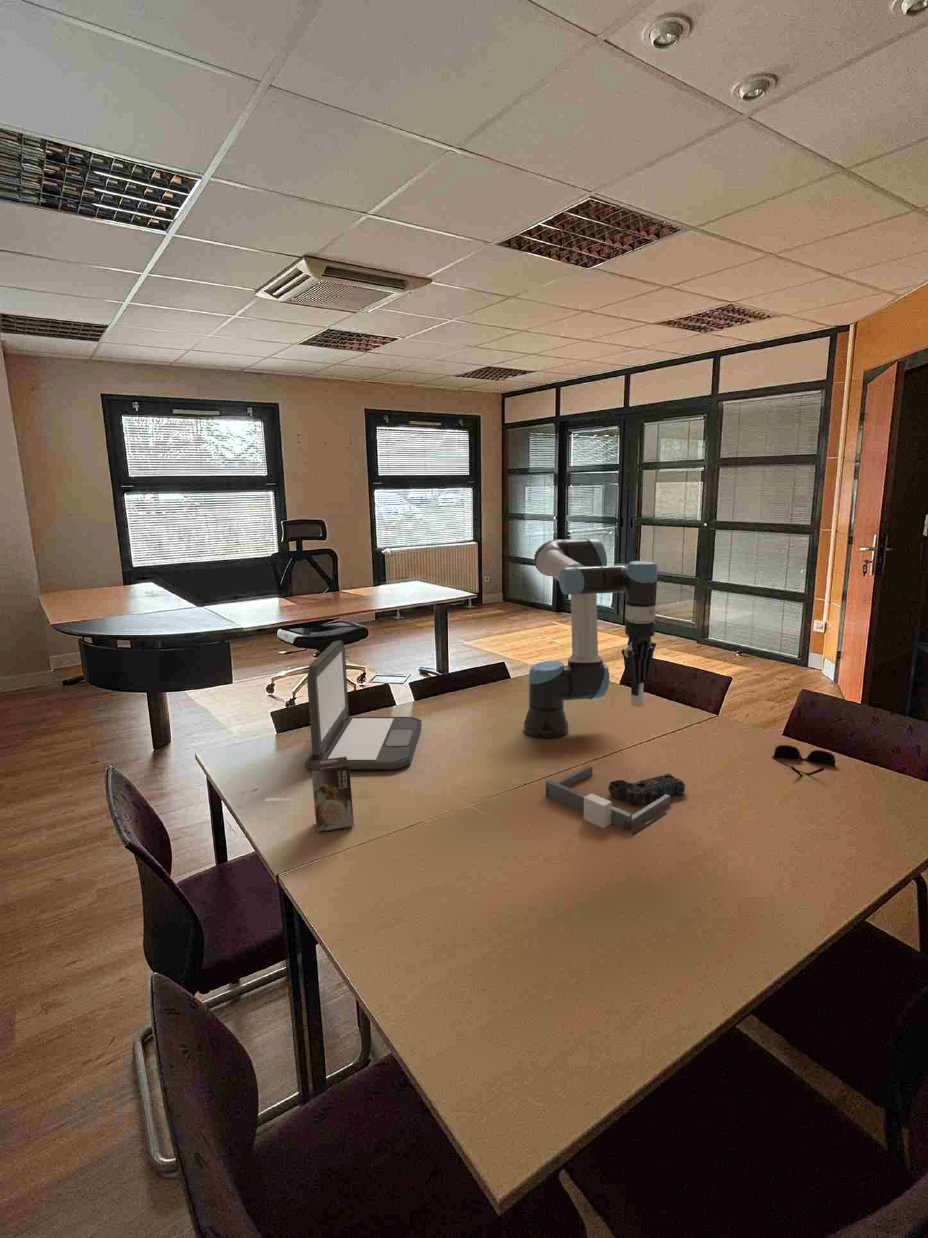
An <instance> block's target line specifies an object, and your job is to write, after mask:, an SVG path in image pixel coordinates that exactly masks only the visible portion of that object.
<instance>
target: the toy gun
mask: <svg viewBox="0 0 928 1238" xmlns="http://www.w3.org/2000/svg"><path fill="white" fill-rule="evenodd" d="M607 789H608V791H609V794H610V795H611V796H613V797H615V798H616V799H618V800H620V801H621V802H622V801H623V802H626V804H627V805H628V806H633V807H641V806H644V805H645V804H646V805H647V804H649V803H650V804H651V803H653V802H654V801H656V800H657V799H659V798H661V797H662V796H664V795H665V794H667V795H670V798H671V797H675V796H679V795H682V794H685V789H686V783H685V782H684V781H683V780H682V779H680V778H676V777H675V776H674V775H673V774H671V773H666V774H663V775H659V776H658V775H657V776H655V777H650V778H647V779H646V778H645V779H642V780H638V781H637V782H635V783H633V782H627V781H625V780H624V779H620V780H619V779H618V780H613V781H609V785H608V788H607Z"/></svg>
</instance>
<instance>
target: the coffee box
mask: <svg viewBox="0 0 928 1238" xmlns="http://www.w3.org/2000/svg"><path fill="white" fill-rule="evenodd" d="M350 770H351V769H349V763H348V760H347V757H339V758H331V759H324V760H316V761H311V770H310V771H311V779H312V791H313V801H314V802H313V804H314V805H313V806H314V815H315V824H316V831H317V832H325V831H331V830H335V829H342V828H343V829H344V828H350V827H354V826H355V823H354V822H355V819H354V809H353V796H352V795H353V794H352V784H351V783H352V782H351V771H350Z"/></svg>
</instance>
